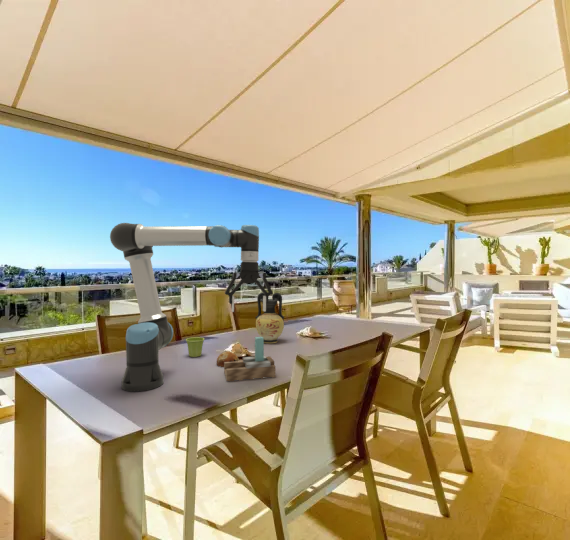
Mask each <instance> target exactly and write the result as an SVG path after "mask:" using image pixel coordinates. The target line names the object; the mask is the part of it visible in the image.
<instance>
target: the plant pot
mask: <svg viewBox="0 0 570 540" xmlns="http://www.w3.org/2000/svg"><path fill="white" fill-rule="evenodd" d="M185 341H186V344H187V351H188V357H190V358H197V357H201V356H202V352H203V351H202V350H203V345H204V341H205V338H204V337H200V336H199V337H198V336H195V337H188V338H186V339H185Z"/></svg>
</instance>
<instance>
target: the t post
mask: <svg viewBox="0 0 570 540" xmlns="http://www.w3.org/2000/svg"><path fill="white" fill-rule="evenodd" d="M264 350H265V343H264V338H263V337H261V336H255V337H254V356H255V362H256V361H264V356H265V353H264Z"/></svg>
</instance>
